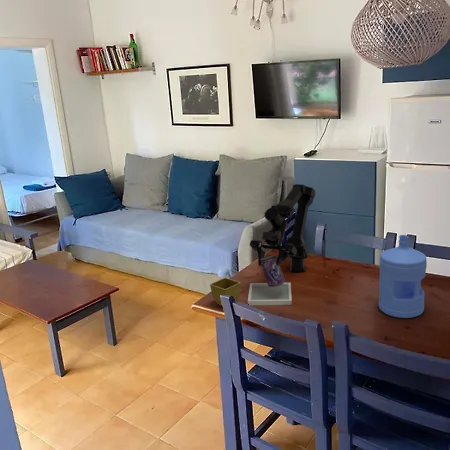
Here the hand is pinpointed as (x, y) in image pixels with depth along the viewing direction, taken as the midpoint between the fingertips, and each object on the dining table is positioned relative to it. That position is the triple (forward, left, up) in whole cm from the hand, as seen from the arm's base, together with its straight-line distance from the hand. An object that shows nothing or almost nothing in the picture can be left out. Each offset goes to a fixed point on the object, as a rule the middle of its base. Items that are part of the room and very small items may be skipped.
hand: (267, 266), depth 185 cm
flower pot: (+6, -17, -13) cm, 22 cm away
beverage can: (+1, +4, -8) cm, 9 cm away
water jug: (+12, +48, -13) cm, 52 cm away
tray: (-1, 0, -13) cm, 13 cm away
